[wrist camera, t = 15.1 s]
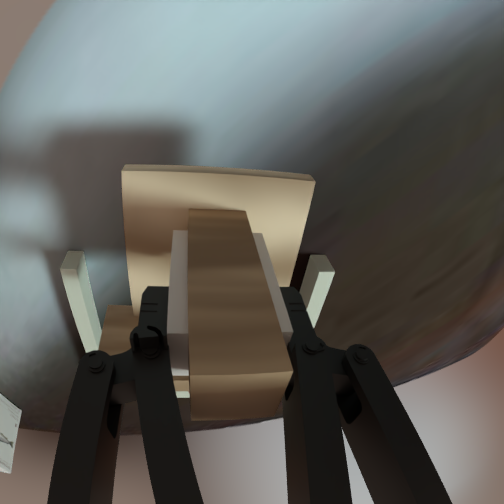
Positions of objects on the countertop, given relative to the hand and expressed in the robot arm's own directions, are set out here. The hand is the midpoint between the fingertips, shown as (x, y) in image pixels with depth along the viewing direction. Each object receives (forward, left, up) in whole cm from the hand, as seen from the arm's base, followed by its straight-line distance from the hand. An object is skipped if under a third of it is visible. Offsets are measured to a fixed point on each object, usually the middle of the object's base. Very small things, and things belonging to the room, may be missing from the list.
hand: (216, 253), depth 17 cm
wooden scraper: (+2, 0, -2) cm, 3 cm away
